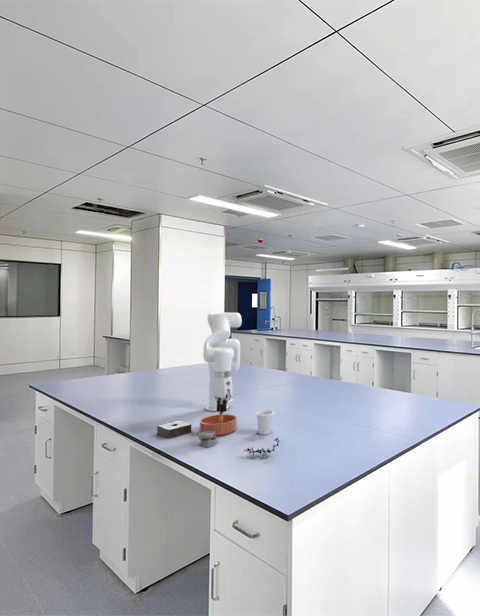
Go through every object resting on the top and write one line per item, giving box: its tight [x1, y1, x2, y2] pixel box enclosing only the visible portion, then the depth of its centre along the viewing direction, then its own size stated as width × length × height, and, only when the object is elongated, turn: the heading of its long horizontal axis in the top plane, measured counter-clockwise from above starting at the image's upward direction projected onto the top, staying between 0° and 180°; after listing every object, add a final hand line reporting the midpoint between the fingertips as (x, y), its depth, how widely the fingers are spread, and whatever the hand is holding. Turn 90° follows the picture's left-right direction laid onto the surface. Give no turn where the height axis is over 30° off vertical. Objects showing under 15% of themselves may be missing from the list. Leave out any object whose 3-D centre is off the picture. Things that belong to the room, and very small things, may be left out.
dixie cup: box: [255, 409, 275, 435], centre depth 187 cm, size 8×8×10 cm
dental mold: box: [198, 431, 217, 448], centre depth 170 cm, size 8×7×5 cm
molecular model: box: [243, 436, 282, 458], centre depth 157 cm, size 6×15×8 cm, turn 96°
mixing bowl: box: [198, 413, 238, 437], centre depth 187 cm, size 17×17×6 cm
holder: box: [156, 420, 192, 439], centre depth 182 cm, size 11×11×4 cm
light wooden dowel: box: [218, 400, 224, 423], centre depth 185 cm, size 2×2×14 cm
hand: (221, 411), depth 185 cm, fingers closed on light wooden dowel, 1 cm apart
